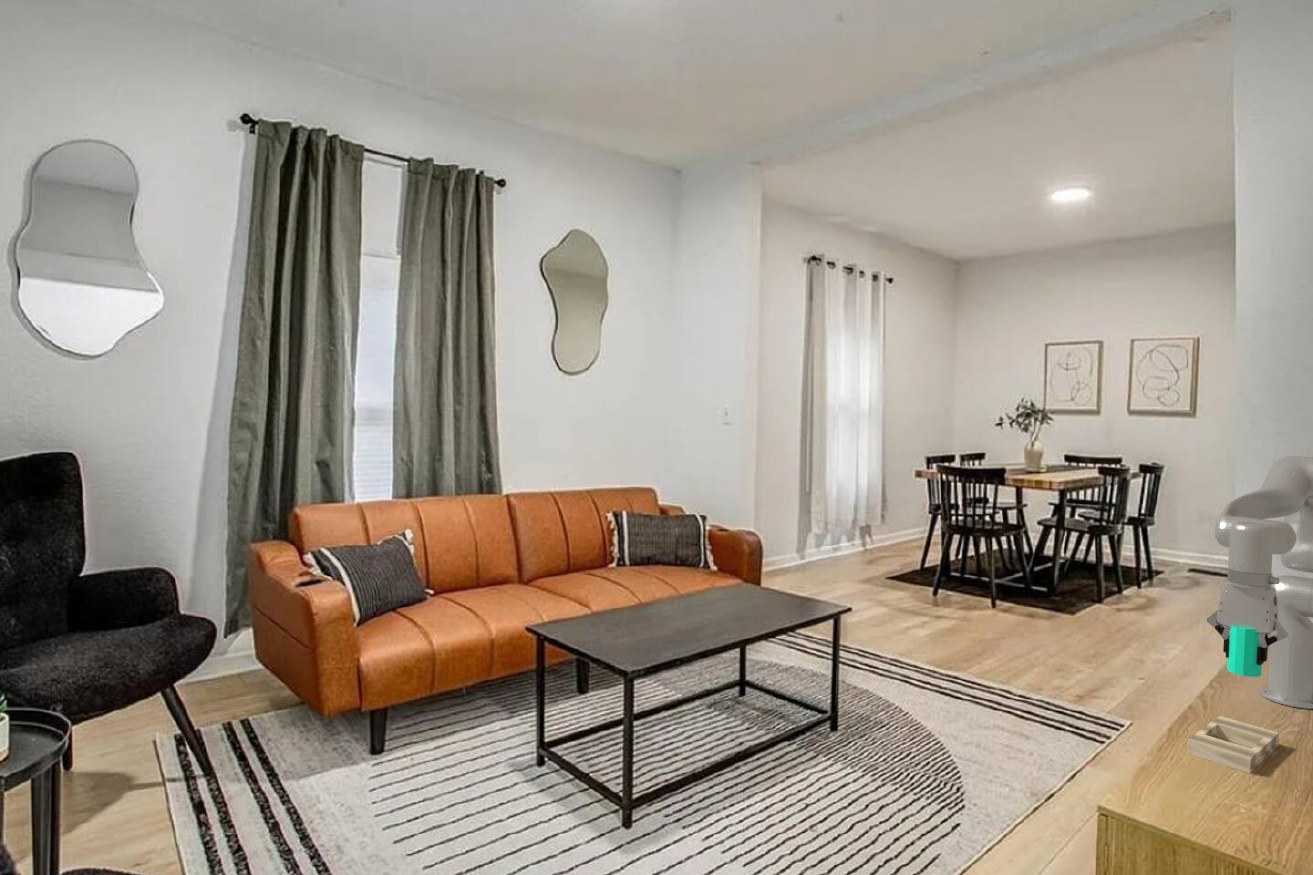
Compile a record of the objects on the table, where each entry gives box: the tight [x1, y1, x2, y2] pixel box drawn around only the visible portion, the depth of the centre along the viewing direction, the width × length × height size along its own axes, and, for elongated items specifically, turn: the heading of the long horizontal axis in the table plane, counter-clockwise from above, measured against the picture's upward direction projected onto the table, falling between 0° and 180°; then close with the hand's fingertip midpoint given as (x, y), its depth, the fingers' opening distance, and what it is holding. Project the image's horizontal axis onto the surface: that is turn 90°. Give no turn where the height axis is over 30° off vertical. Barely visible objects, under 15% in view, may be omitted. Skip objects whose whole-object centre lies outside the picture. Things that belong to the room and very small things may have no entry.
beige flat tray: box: [1186, 715, 1280, 774], centre depth 165 cm, size 20×11×3 cm, turn 127°
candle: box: [1226, 626, 1263, 678], centre depth 167 cm, size 6×6×12 cm
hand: (1244, 659), depth 167 cm, fingers closed on candle, 4 cm apart
